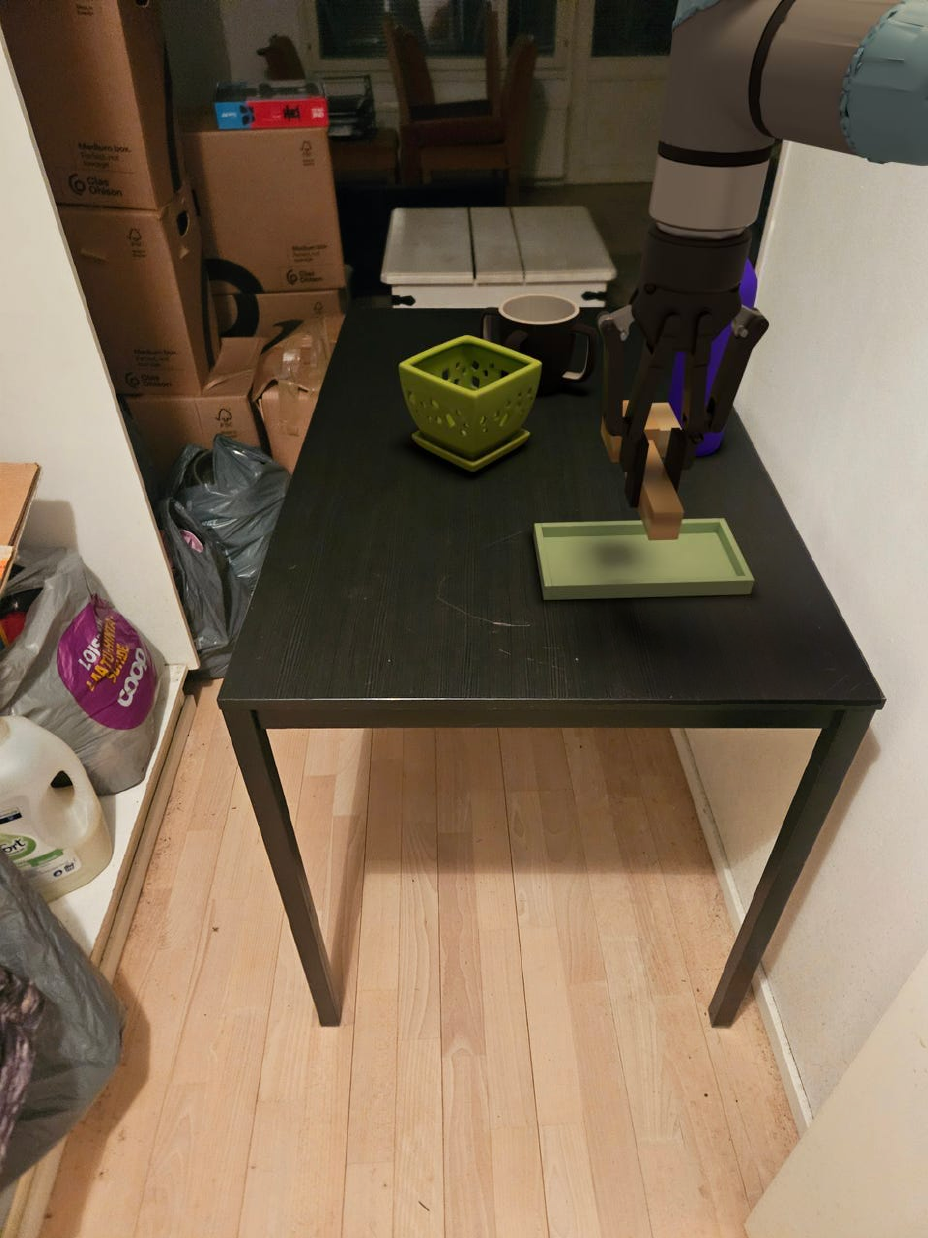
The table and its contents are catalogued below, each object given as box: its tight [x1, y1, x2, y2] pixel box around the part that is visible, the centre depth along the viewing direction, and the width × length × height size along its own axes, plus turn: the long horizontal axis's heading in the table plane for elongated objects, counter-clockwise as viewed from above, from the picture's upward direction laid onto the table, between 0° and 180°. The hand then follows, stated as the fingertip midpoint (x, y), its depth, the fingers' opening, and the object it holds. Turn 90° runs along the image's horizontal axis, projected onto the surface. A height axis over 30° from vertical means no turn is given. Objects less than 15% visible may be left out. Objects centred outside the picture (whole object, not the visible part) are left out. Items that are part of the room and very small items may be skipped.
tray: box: [533, 517, 755, 601], centre depth 87 cm, size 23×12×2 cm, turn 92°
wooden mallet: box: [600, 399, 685, 540], centre depth 72 cm, size 19×7×4 cm, turn 2°
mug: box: [479, 293, 600, 395], centre depth 118 cm, size 16×16×12 cm
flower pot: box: [398, 334, 542, 473], centre depth 103 cm, size 14×14×13 cm
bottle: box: [667, 257, 758, 457], centre depth 97 cm, size 8×8×30 cm
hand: (648, 498), depth 71 cm, fingers closed on wooden mallet, 3 cm apart
